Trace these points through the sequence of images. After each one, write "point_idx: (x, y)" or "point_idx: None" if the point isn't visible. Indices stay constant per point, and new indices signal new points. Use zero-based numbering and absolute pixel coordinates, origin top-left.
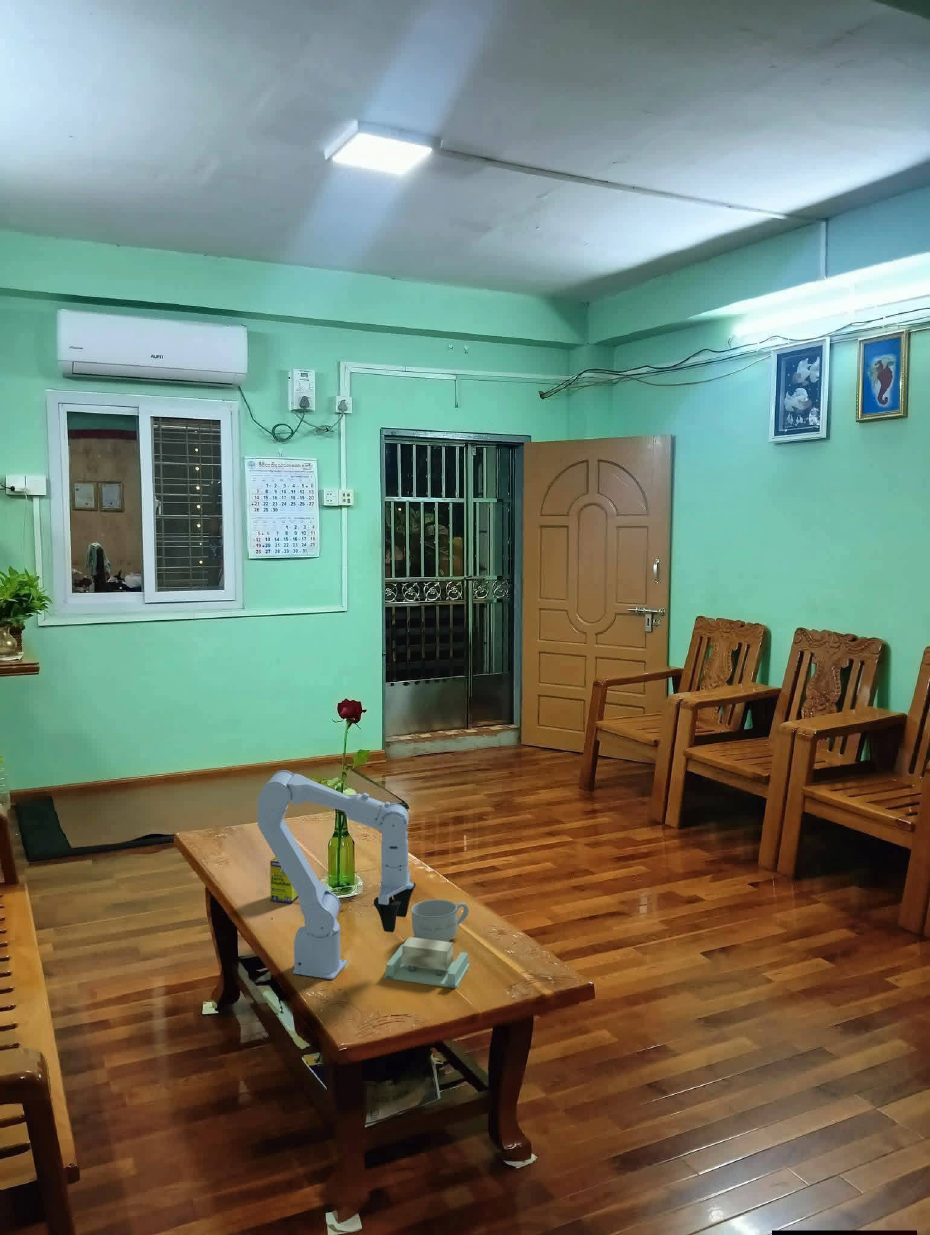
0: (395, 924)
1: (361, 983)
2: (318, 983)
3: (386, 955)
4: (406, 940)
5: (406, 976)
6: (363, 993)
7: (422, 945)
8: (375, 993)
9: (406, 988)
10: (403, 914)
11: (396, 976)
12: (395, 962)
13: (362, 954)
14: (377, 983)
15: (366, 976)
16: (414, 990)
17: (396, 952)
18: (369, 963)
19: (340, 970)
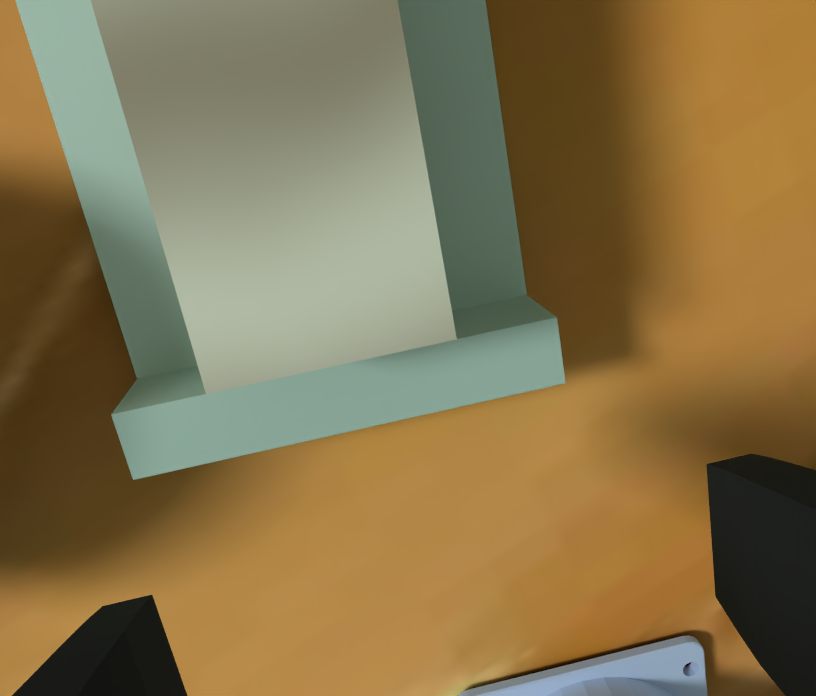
0: (783, 495)
1: (662, 456)
2: (755, 673)
3: (205, 544)
4: (310, 368)
5: (481, 196)
6: (780, 366)
7: (336, 107)
8: (755, 292)
9: (607, 115)
10: (152, 655)
11: (516, 272)
12: (491, 333)
13: (287, 687)
14: (621, 360)
15: (561, 483)
16: (612, 33)
17: (314, 431)
18: (381, 573)
19: (582, 663)
